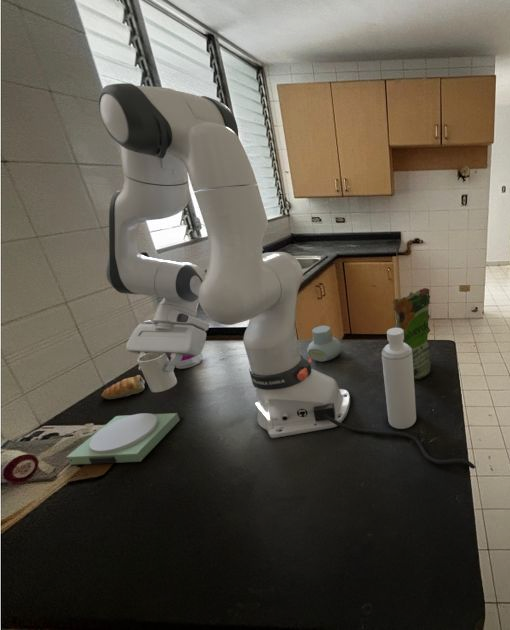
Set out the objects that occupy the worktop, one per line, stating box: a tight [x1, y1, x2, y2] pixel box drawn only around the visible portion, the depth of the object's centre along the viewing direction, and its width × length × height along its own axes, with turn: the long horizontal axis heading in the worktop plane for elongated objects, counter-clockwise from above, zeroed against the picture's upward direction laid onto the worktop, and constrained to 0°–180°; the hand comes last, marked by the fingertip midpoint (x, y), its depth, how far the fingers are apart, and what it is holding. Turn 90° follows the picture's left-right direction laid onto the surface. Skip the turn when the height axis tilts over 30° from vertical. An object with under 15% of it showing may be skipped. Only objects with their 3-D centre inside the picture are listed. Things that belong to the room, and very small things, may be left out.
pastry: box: [100, 374, 146, 400], centre depth 94 cm, size 9×7×4 cm
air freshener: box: [306, 325, 343, 362], centre depth 107 cm, size 11×8×10 cm
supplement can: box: [168, 352, 204, 370], centre depth 106 cm, size 8×8×15 cm
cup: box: [136, 352, 178, 393], centre depth 86 cm, size 6×6×9 cm
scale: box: [65, 412, 181, 466], centre depth 76 cm, size 15×13×3 cm
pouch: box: [391, 287, 432, 380], centre depth 94 cm, size 11×12×25 cm
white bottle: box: [380, 327, 417, 430], centre depth 75 cm, size 7×7×25 cm
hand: (155, 371), depth 85 cm, fingers closed on cup, 6 cm apart
